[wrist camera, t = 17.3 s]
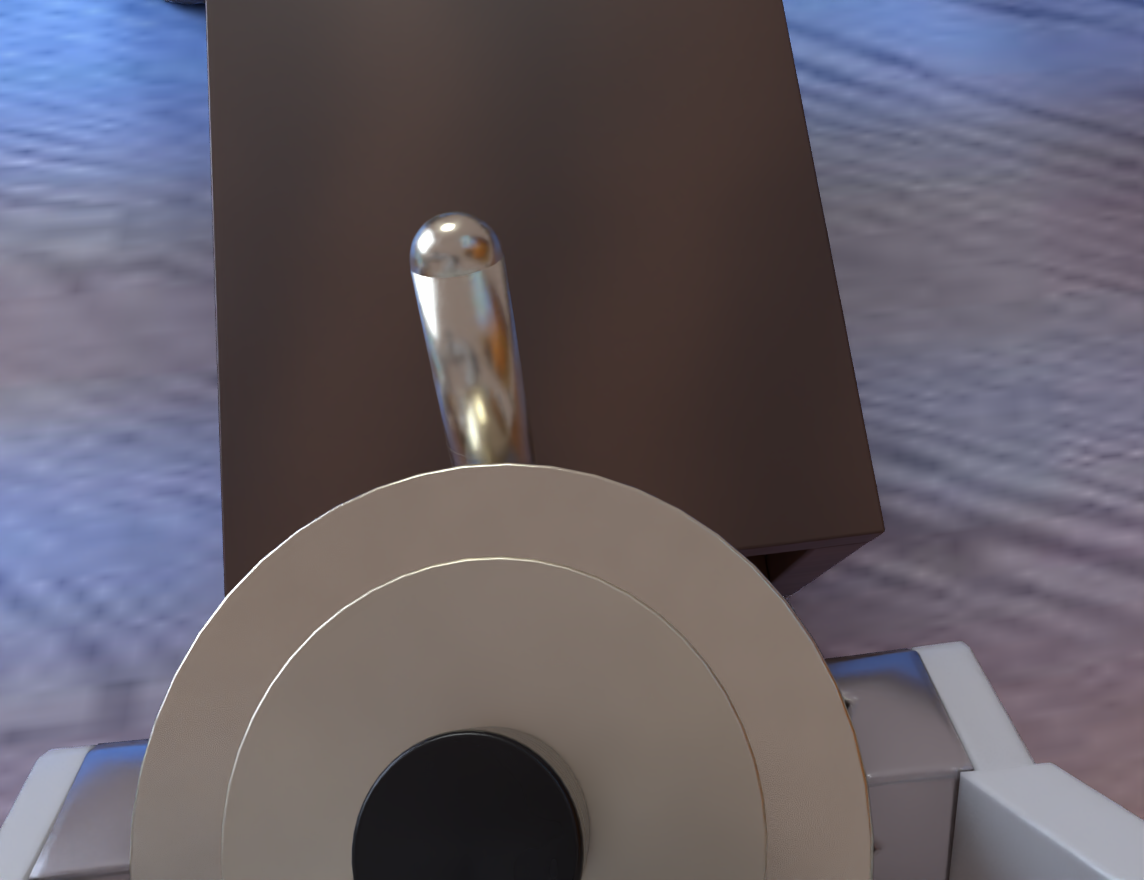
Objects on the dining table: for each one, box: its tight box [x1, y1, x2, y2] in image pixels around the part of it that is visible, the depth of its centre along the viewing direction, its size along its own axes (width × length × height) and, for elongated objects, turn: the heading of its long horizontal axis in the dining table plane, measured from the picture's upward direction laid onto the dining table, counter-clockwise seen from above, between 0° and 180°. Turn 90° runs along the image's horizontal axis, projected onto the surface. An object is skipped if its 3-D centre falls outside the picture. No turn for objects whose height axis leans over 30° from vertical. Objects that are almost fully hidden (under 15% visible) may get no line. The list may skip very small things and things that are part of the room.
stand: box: [205, 0, 885, 597], centre depth 28 cm, size 13×18×14 cm
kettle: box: [129, 211, 874, 880], centre depth 11 cm, size 6×9×8 cm
